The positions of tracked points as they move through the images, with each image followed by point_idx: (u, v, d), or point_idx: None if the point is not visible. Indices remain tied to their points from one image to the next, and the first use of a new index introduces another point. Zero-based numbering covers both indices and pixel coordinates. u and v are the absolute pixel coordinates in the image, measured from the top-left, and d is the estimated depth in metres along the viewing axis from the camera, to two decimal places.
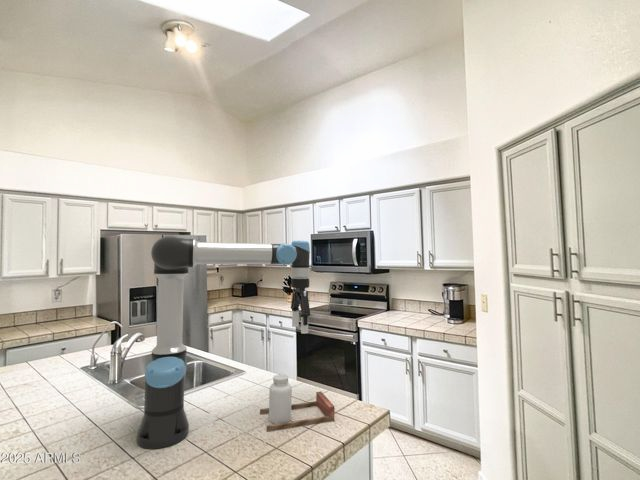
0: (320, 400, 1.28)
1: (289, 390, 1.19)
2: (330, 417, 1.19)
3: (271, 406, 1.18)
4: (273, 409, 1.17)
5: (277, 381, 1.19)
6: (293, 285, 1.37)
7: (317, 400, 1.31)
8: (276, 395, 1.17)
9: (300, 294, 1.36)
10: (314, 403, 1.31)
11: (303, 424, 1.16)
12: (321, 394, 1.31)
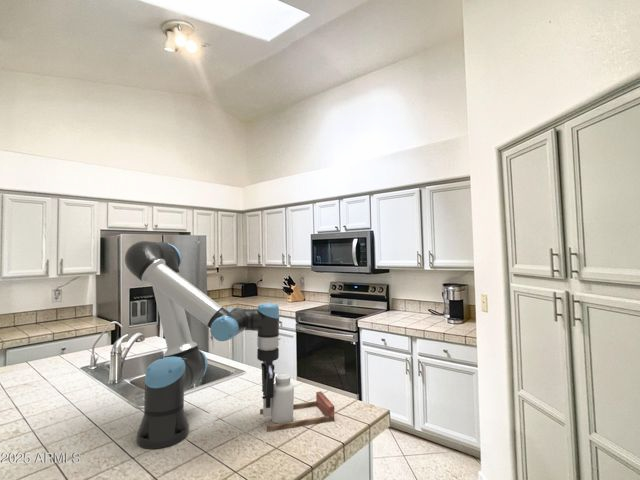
0: (320, 400, 1.28)
1: (292, 390, 1.20)
2: (330, 417, 1.19)
3: (273, 406, 1.18)
4: (276, 408, 1.18)
5: (279, 381, 1.19)
6: (259, 358, 1.17)
7: (317, 400, 1.31)
8: (278, 395, 1.17)
9: (267, 369, 1.16)
10: (314, 403, 1.31)
11: (303, 424, 1.16)
12: (321, 394, 1.31)
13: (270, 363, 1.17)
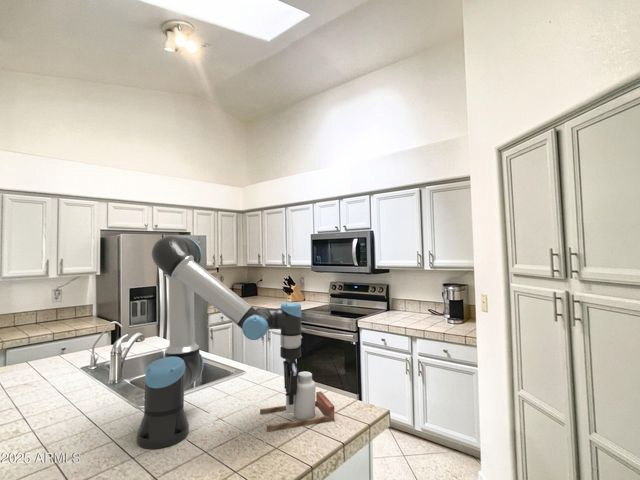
0: (320, 400, 1.28)
1: (314, 387, 1.23)
2: (330, 417, 1.19)
3: (296, 402, 1.21)
4: (299, 405, 1.20)
5: (302, 378, 1.22)
6: (282, 356, 1.20)
7: (317, 400, 1.31)
8: (301, 391, 1.20)
9: (290, 367, 1.19)
10: None
11: (303, 424, 1.16)
12: (321, 394, 1.31)
13: (293, 361, 1.19)
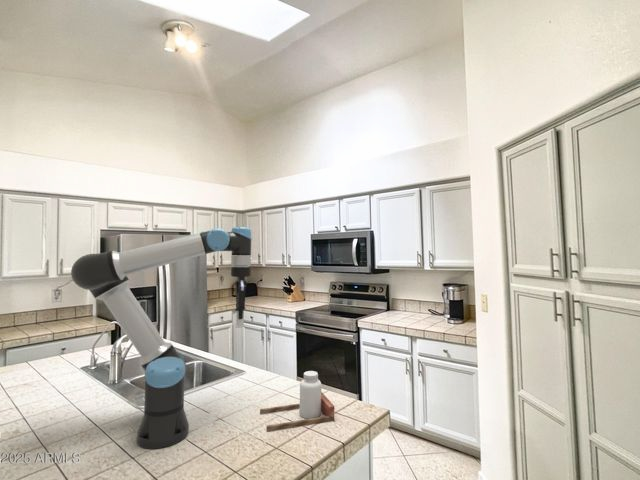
0: None
1: (320, 386, 1.23)
2: (330, 417, 1.19)
3: (302, 401, 1.22)
4: (305, 404, 1.21)
5: (308, 377, 1.23)
6: (232, 274, 1.30)
7: None
8: (307, 391, 1.21)
9: (239, 283, 1.29)
10: None
11: (303, 424, 1.16)
12: (321, 394, 1.31)
13: (242, 278, 1.29)
